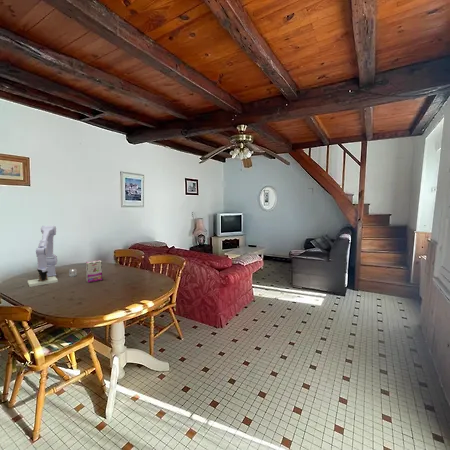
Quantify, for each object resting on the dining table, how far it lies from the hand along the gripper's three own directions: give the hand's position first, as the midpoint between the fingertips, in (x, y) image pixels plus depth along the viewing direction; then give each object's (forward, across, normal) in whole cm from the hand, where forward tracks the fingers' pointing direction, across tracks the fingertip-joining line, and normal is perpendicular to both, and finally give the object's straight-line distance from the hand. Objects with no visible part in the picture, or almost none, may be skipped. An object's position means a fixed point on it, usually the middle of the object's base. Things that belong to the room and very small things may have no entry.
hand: (42, 278), depth 194 cm
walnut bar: (+3, 0, 0) cm, 3 cm away
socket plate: (+3, 0, 0) cm, 3 cm away
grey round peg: (+3, +4, -22) cm, 23 cm away
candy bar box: (+3, -21, -32) cm, 38 cm away
